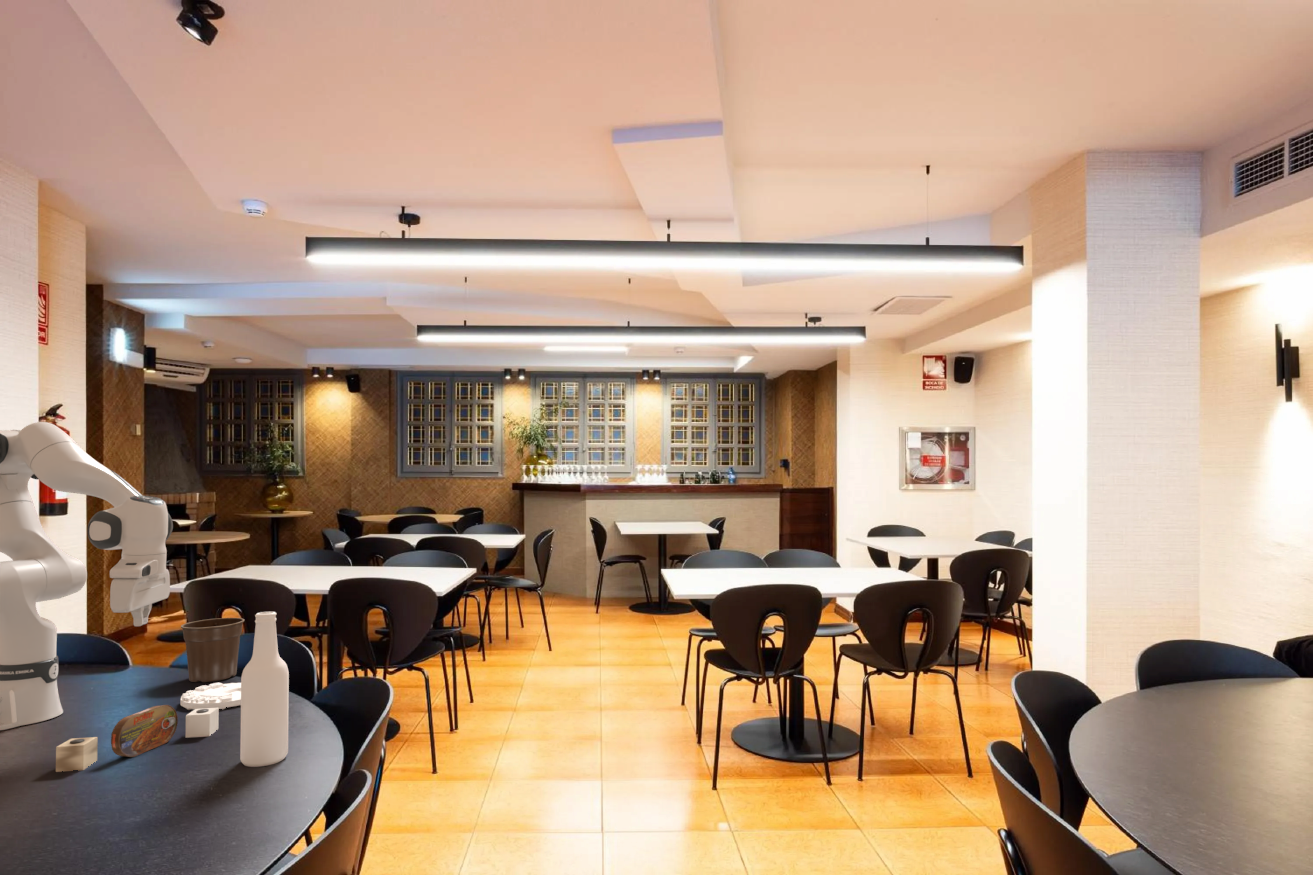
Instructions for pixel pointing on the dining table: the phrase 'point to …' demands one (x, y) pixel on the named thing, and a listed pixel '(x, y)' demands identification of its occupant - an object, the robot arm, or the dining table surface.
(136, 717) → the tin
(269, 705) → the white bottle
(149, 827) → the dining table surface
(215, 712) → the white block
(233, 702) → the white round plaque
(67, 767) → the birch block
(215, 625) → the plant pot
